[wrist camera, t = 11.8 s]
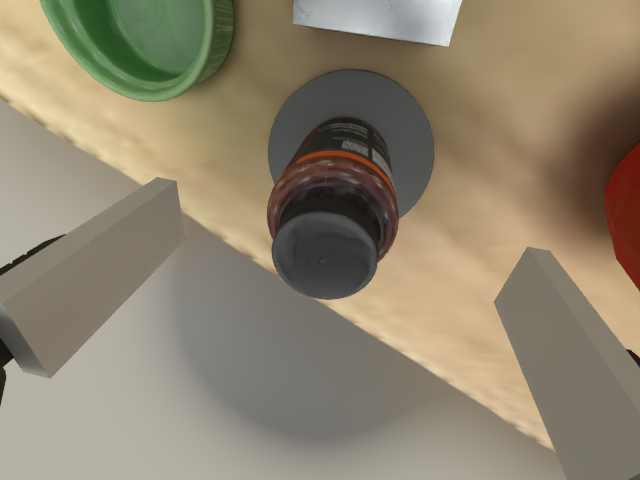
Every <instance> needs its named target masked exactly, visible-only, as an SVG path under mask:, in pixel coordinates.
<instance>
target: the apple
mask: <svg viewBox="0 0 640 480" xmlns="http://www.w3.org/2000/svg"><path fill="white" fill-rule="evenodd" d="M605 207H606V216H607V220H608V224H609V229H610V233H611V237H612V242H613V246H614V250H615V255H616V259H617V260H618V262H619V263H620V264H621V266H622V267H623V269H624V270H625V271H626V273H627V274H628V276H629V277H630V278H631V280H632V281H633V283H634V284H635V285H636V287H637V288H638V290H639V291H640V142H639V143H638V144H637V145H636V146H635V147H634V148H633V149H632V150H631V151H630V152H629V153H628V154H627V155H626V156H625V157H624V158H623V159H622V160H621V161H620V163H619V164H618V165H617V167H616V169H615V171H614V173H613V175H612V177H611V179H610V181H609V183H608V184H607V186H606V188H605Z"/></svg>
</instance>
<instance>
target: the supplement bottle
mask: <svg viewBox="0 0 640 480" xmlns="http://www.w3.org/2000/svg"><path fill="white" fill-rule="evenodd" d="M267 221H268V227H269V231H270V234H271V237H272V238H273V244H272V259H273V263H274V266H275V268H276V270H277V272H278V273H279V275H280V276H281V278H282V279H283V280H284V281H285V282H286V283H287V284H288V285H290V286H291V287H292V288H293V289H295V290H296V291H298V292H300V293H302V294H304V295H307V296H310V297H313V298H318V299H326V300H331V299H340V298H344V297H348V296H351V295H353V294H355V293H357V292H358V291H360V290H361V289H363V288H364V287H365V286H366V285H367V284H368V283H369V282H370V281H371V279H372V278H373V276H374V274H375V271H376V268H377V263H378V262H379V261H380V260H381V259H382V258H383V257H384V256H385V254H386V253H387V252H388V251H389V249H390V248H391V246H392V244H393V241H394V239H395V237H396V233H397V230H398V222H399V213H398V206H397V199H396V193H395V187H394V181H393V175H392V168H391V162H390V156H389V152H388V149H387V145H386V143H385V141H384V139H383V138H382V136H381V135H380V134H379V132H378V131H377V130H376V129H375V128H374V127H372V126H371V125H369V124H368V123H366V122H364V121H362V120H359V119H356V118H352V117H336V118H332V119H329V120H327V121H325V122H322V123H321V124H319V125H318V126H316V127H315V128H314V129H313V130H312V131H311V132H310V133H309V134H308V135H307V136H306V138H305V139H304V141H303V142H302V144H301V145H300V147H299V148H298V150H297V151H296V153H295V155H294V156H293V158H292V159H291V161H290V162H289V164H288V165H287V167H286V168H285V170H284V171H283V172H282V174H281V176H280V178H279V179H278V181H277V183H276V184H275V186H274V188H273V190H272V192H271V195H270V199H269V202H268V207H267Z"/></svg>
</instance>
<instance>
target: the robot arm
mask: <svg viewBox="0 0 640 480" xmlns="http://www.w3.org/2000/svg"><path fill="white" fill-rule="evenodd" d="M184 240H185V235H184V228H183V222H182V215H181V209H180V202H179V196H178V189H177V182H176V181H175V180H170V179H164V178H159V177H157V178H155V179H154V180H152V181H151V182H149V183H147V184H146V185H144V186H143V187H141V188H140V189H138V190H136V191H135V192H133V193H132V194H130V195H128V196H127V197H125V198H124V199H122V200H120V201H119V202H117V203H116V204H114V205H112V206H111V207H109V208H108V209H106V210H104V211H103V212H101V213H100V214H98V215H97V216H95V217H93V218H92V219H90V220H89V221H87V222H85V223H84V224H82V225H81V226H79V227H77V228H76V229H75V230H73V231H71V232H69V233H68V234H64V235H61V236H58V237H56V238H53V239H50V240H48V241H45V242H43V243H41V244H40V245H38V246H37V247H35V248H33V249H32V250H30V251H28V252H27V254H26V255H24V254H23V255H22V256H20V257H18V258H17V259H15V260H13V262H12V264H10V263H9V264H7V265H5V266H4V267H2V268H0V405H1V400H2V395H3V391H4V386H5V381H6V372H5V370H4V368H3V367H4V366H5V365H6V364H7V363H8V362H9V361H10V360H12V359H13V358H14V359H15V361H16V362H17V363H18V365H19V366H20V368H21V369H22V370H23V372H26V373H30V374H35V375H39V376H43V377H47V378H51V377H52V376H53V375H54V374H55V373H56V372H57V371H58V370H59V369H60V368H61V367H62V366H63V365H64V364H65V363H66V362H67V361H68V360H69V359H70V358H71V357H72V356H73V355H74V354H75V353H76V352H77V351H78V349H79V348H80V347H81V346H82V345H83V344H84V343H85V342H86V341H87V340H88V339H89V338H90V337H91V336H92V335H93V334H94V333H95V332H96V331H97V330H98V329H99V328H100V327H101V326H102V325H103V324H104V323H105V321H107V320H108V319H109V318H110V317H111V316H112V314H113V313H114V312H115V311H116V310H117V309H118V308H119V307H120V306H121V305H122V304H123V303H124V302H125V301H126V300H127V299H128V298H129V297H130V296H131V295H132V294H133V293H134V292H135V291H136V289H138V288H139V287H140V286H141V285H142V283H143V282H145V280H146V279H147V278H148V277H149V276H150V275H151V274H152V273H153V272H154V271H155V270H156V269H157V268H158V267H159V266H160V265H161V264H162V263H163V262H164V261H165V260H166V259H167V258H168V257H169V256H170V255H171V254H172V253H173V252H174V250H175V249H176V248H178V246H179V245H180V244H181V243H182V242H183V241H184ZM494 304H495V306H496V309H497V311H498V314H499V316H500V318H501V321H502V323H503V326H504V328H505V331H506V333H507V335H508V338H509V340H510V343H511V345H512V347H513V350H514V352H515V355H516V357H517V360H518V362H519V364H520V367H521V369H522V372H523V374H524V376H525V379H526V381H527V384H528V386H529V389H530V391H531V393H532V396H533V398H534V401H535V403H536V405H537V408H538V410H539V413H540V415H541V418H542V420H543V422H544V425H545V427H546V430H547V432H548V435H549V437H550V439H551V442H552V444H553V447H554V449H555V451H556V454H557V456H558V459H559V461H560V463H561V466H562V468H563V471H564V473H565V476H566V478H567V480H640V358H639V357H638V356H637V355H636V354H635V353H634V352H632V351H631V350H628V349H625V348H624V347H623V345H622V344H621V343H620V341H619V340H618V339H617V338H616V336H615V335H614V334H613V332H612V331H611V330H610V328H609V327H608V326H607V325H606V323H605V322H604V321H603V319H602V318H601V317H600V315H599V314H598V313H597V312H596V310H595V309H594V308H593V306H592V305H591V304H590V303H589V301H588V300H587V299H586V297H585V296H584V295H583V293H582V292H581V291H580V290H579V288H578V287H577V286H576V284H575V283H574V282H573V280H572V279H571V278H570V277H569V275H568V274H567V273H566V271H565V270H564V269H563V268H562V266H561V265H560V264H559V262H558V261H557V260H556V258H555V257H554V256H553V255H552V253H551V252H550V251H547V250H542V249H536V248H531V247H527V248H526V250H525V252H524V253H523V255H522V257H521V258H520V260H519V261H518V263H517V265H516V266H515V268H514V270H513V271H512V273H511V275H510V276H509V278H508V279H507V281H506V283H505V284H504V286H503V288H502V289H501V291H500V293H499V294H498V296H497V297H496V299H495V301H494Z"/></svg>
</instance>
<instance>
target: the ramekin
mask: <svg viewBox="0 0 640 480" xmlns="http://www.w3.org/2000/svg"><path fill="white" fill-rule="evenodd" d="M40 3H41V6H42V8H43V10H44V13H45V15H46V17H47V19H48V21H49V23H50V25H51V26H52V28H53V30H54V31H55V33H56V35H57V37H58V38H59V40H60V41H61V42H62V44H63V45H64V47H65V48H66V49H67V51H68V52H69V53H70V54H71V56H72V57H73V58H74V59H75V60H76V61H77V62H78V64H79V65H80V66H81V67H82V68H83V69H84V70H86V71H87V72H88V73H89V74H90V75H91V76H92V77H93V78H94V79H96V80H97V81H98V82H100V83H101V84H103V85H104V86H105V87H107V88H109V89H110V90H112V91H114V92H116V93H118V94H120V95H122V96H125V97H128V98H131V99H134V100H138V101H145V102H159V101H165V100H169V99H172V98H174V97H177V96H178V95H180V94H182V93H184V92H185V91H187V90H188V89H189V88H191V87H192V86H193V85H195V84H198V83H200V82H202V81H204V80H205V79H207V78H208V77H210V76H211V75H212V74H214V73H215V71H216V70H217V69H218V68H219V67H220V66H221V64H222V63H223V61H224V60H225V58H226V55H227V53H228V51H229V48H230V45H231V41H232V35H233V25H234V16H233V5H232V0H40Z"/></svg>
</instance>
